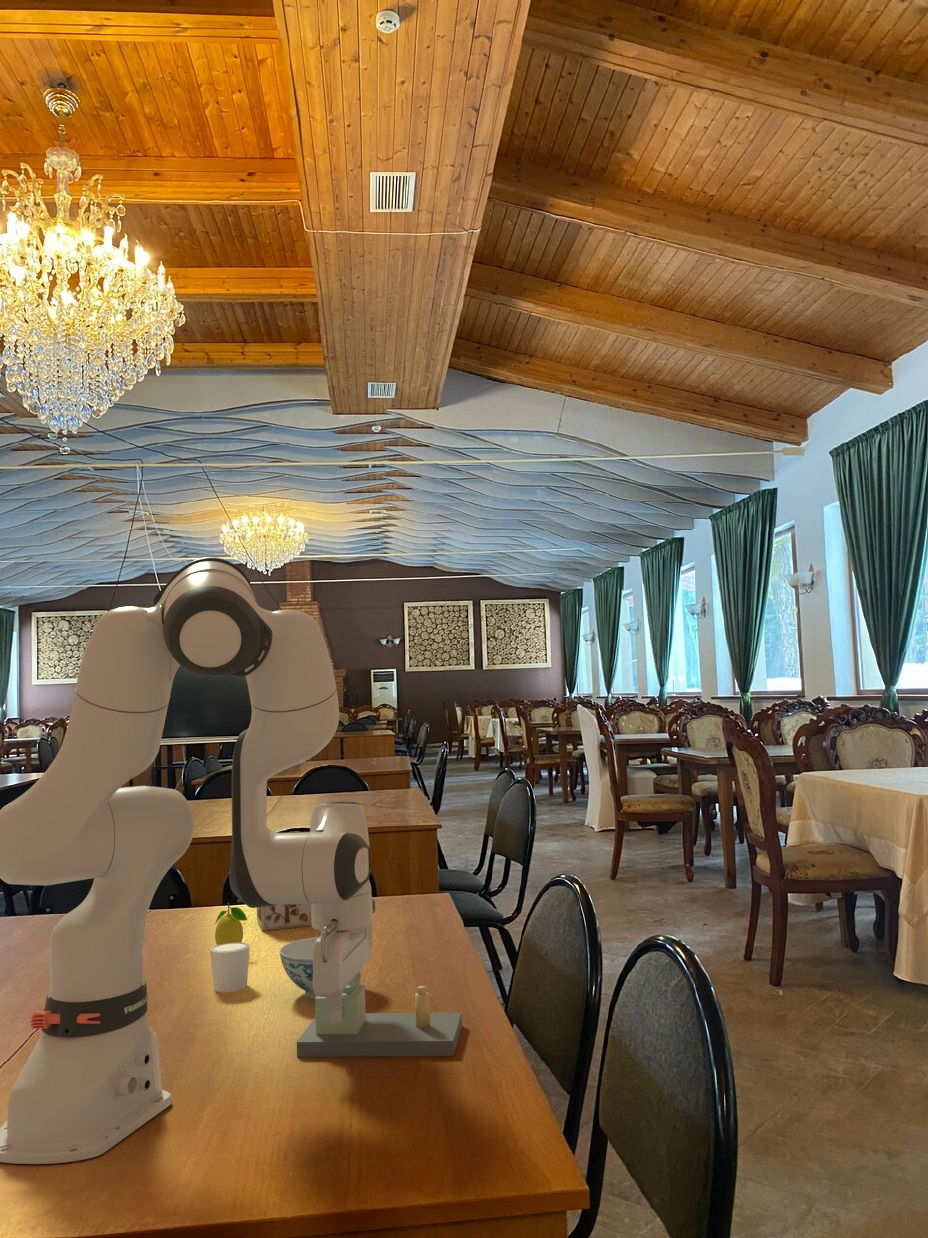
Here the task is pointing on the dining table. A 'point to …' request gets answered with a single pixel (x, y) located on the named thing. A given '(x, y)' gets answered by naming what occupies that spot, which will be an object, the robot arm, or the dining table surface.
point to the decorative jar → (284, 916)
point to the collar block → (352, 1012)
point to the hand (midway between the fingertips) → (345, 1010)
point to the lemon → (230, 926)
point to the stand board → (390, 1034)
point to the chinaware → (300, 963)
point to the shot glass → (230, 966)
